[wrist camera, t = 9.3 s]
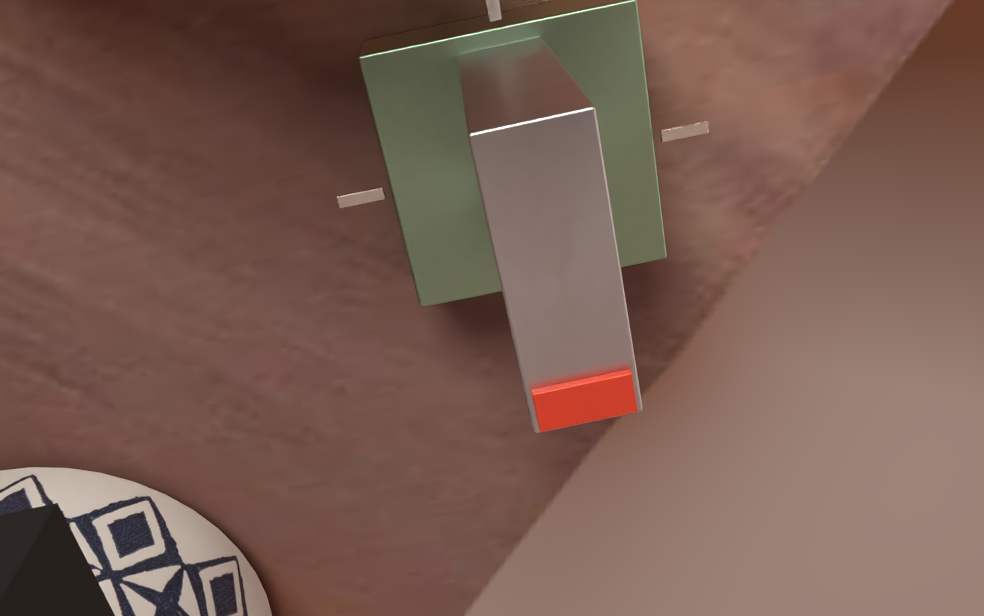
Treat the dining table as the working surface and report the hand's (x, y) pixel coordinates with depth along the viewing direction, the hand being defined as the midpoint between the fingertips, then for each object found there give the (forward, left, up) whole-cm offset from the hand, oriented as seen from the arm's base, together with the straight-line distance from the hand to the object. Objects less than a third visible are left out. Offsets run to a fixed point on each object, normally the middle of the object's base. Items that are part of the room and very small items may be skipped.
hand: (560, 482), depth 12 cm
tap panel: (+1, 0, -19) cm, 19 cm away
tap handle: (+1, 0, -16) cm, 16 cm away
